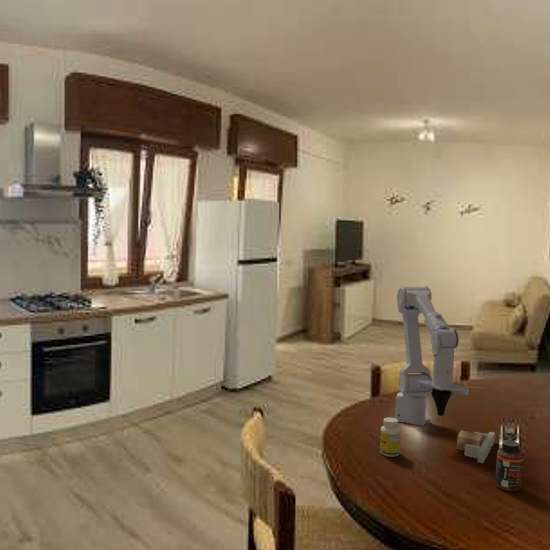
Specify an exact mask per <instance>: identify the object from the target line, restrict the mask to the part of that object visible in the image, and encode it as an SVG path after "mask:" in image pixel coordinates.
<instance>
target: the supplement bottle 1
mask: <svg viewBox="0 0 550 550" xmlns="http://www.w3.org/2000/svg"><path fill="white" fill-rule="evenodd" d="M398 425H399V421H398V420H397V419H395V417H384V418H383V425H382V426H381V427H380V440H379V441H380V442H379V443H380V444H379V452H380V454H381V455H382V456H384V457H389V458H391V457H392V458H394V457H398V456H399V455H400V452H401V451H400V450H401V449H400V448H401V428H400V427H399V426H398Z"/></svg>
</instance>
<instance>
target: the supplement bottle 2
mask: <svg viewBox="0 0 550 550" xmlns="http://www.w3.org/2000/svg"><path fill="white" fill-rule="evenodd" d="M523 458H524V456H523V453H522V452H521V451H520V443H519V442H518V441H514V440H511V439H510V440H509V439H506V440H505V439H504V440H502V442H501V448H499V449H497V454H496V467H495V481H494V483H495V486H496V487H497V488H499V489H500V490H502V491H506V492H518V491H520V490H521V488H522V474H523V462H524V461H523V460H524V459H523Z"/></svg>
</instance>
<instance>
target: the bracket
mask: <svg viewBox="0 0 550 550" xmlns="http://www.w3.org/2000/svg"><path fill="white" fill-rule="evenodd" d="M473 432H474V433H480V434H482V446H481V447H480V446H475V445H469V444H466V445H465V451H464V455H465V456H464V457H467V456H468V458H472V457H473V459H477V463H480V464H484V463H485V461H486V458H487V457H488V455H489V453H490V452H491V450H492V448H493V446H494V444H495V439H496V432H493V431H489V432H488V433H484V432H478V431H473ZM491 447H492V448H491ZM490 449H491V450H490Z"/></svg>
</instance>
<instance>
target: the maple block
mask: <svg viewBox="0 0 550 550" xmlns="http://www.w3.org/2000/svg"><path fill="white" fill-rule="evenodd" d="M474 432H475V431H467V430H462V429H461V430H460V431H459V433H458V436H457V440H456V442H457V443H456V450H457V449H460V450H459V451H462V450H465V445H466V444H469V445H475V446H480V447H481V446H482V434H480V433H481V432H479V433H474Z"/></svg>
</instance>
